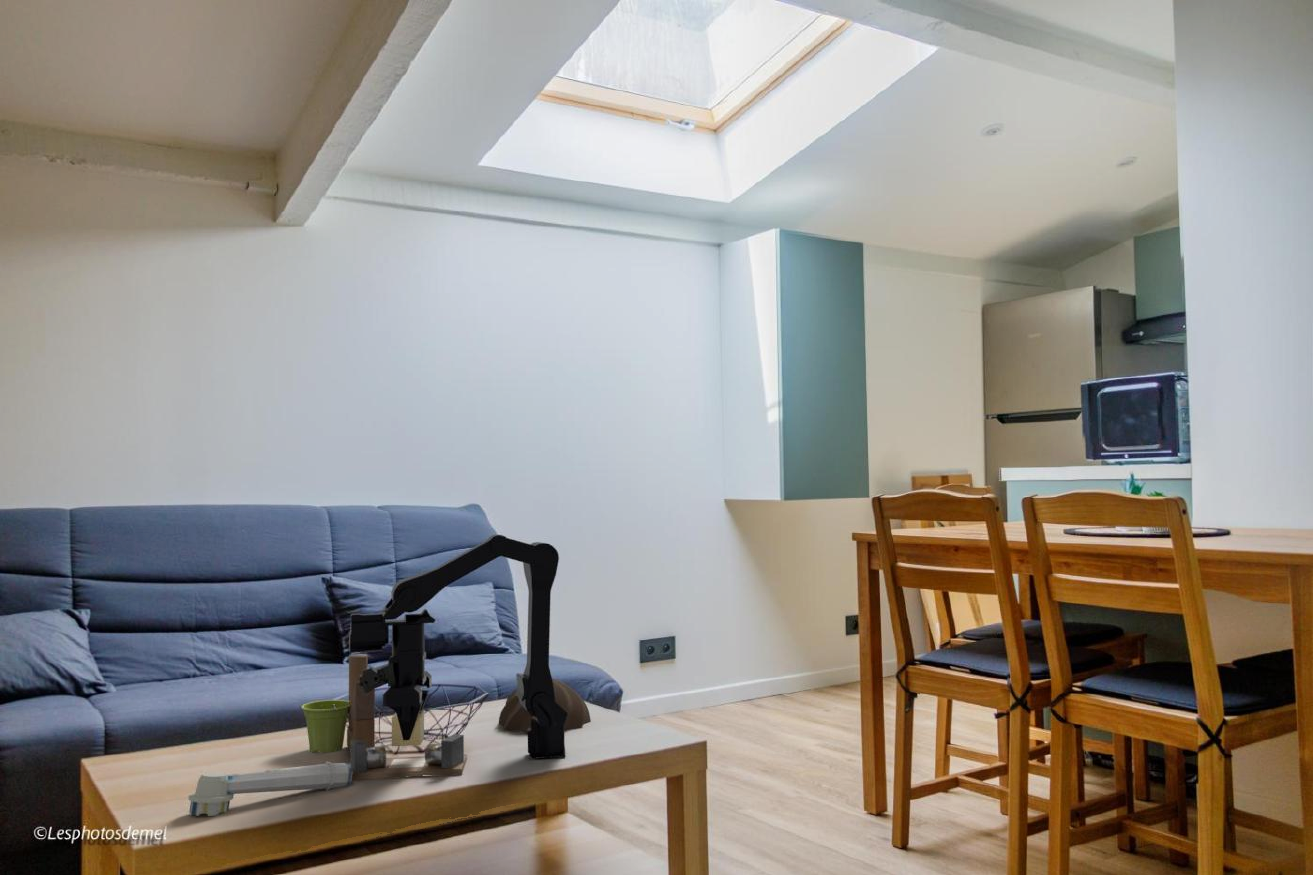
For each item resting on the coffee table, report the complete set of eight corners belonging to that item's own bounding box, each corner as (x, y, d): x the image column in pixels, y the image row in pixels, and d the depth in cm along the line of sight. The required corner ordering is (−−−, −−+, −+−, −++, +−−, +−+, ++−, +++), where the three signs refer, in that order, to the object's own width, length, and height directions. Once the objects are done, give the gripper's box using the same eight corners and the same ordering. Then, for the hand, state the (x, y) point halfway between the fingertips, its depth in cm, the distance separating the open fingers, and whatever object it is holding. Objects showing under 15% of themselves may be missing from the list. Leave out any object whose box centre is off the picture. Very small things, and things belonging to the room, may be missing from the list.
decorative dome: (548, 739, 194) (547, 688, 195) (479, 727, 206) (479, 679, 206) (608, 720, 210) (607, 674, 210) (541, 710, 221) (541, 666, 222)
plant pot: (344, 741, 195) (344, 697, 195) (357, 750, 187) (357, 705, 187) (296, 748, 190) (296, 703, 190) (307, 758, 182) (307, 711, 182)
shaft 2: (423, 767, 170) (423, 740, 170) (435, 760, 174) (435, 733, 175) (452, 769, 168) (451, 741, 169) (463, 762, 173) (463, 734, 173)
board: (466, 759, 179) (466, 753, 179) (461, 774, 169) (461, 768, 169) (355, 764, 176) (355, 759, 176) (344, 780, 166) (344, 774, 166)
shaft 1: (381, 763, 173) (381, 736, 174) (386, 769, 169) (386, 741, 169) (350, 767, 171) (350, 740, 171) (354, 774, 167) (354, 745, 167)
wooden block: (355, 759, 180) (355, 662, 182) (346, 746, 190) (346, 654, 191) (375, 756, 182) (375, 660, 183) (365, 744, 192) (365, 653, 193)
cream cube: (424, 738, 176) (423, 710, 176) (420, 745, 171) (420, 716, 171) (396, 739, 176) (396, 711, 176) (391, 746, 171) (391, 717, 171)
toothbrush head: (355, 764, 163) (199, 772, 147) (350, 805, 162) (192, 817, 146) (343, 758, 167) (189, 765, 151) (337, 798, 166) (182, 809, 150)
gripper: (371, 643, 183) (372, 726, 182) (352, 658, 164) (352, 751, 163) (431, 641, 184) (432, 724, 183) (419, 656, 166) (419, 748, 165)
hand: (408, 736), depth 173 cm, fingers closed on cream cube, 5 cm apart
